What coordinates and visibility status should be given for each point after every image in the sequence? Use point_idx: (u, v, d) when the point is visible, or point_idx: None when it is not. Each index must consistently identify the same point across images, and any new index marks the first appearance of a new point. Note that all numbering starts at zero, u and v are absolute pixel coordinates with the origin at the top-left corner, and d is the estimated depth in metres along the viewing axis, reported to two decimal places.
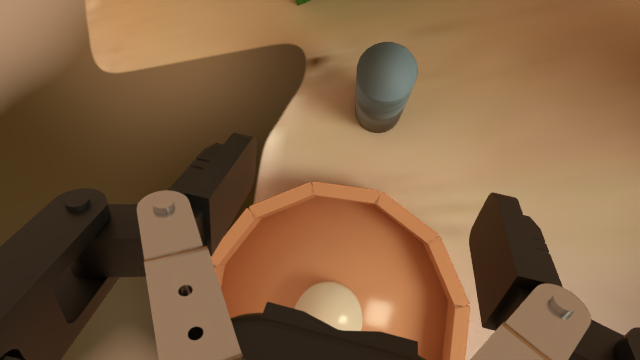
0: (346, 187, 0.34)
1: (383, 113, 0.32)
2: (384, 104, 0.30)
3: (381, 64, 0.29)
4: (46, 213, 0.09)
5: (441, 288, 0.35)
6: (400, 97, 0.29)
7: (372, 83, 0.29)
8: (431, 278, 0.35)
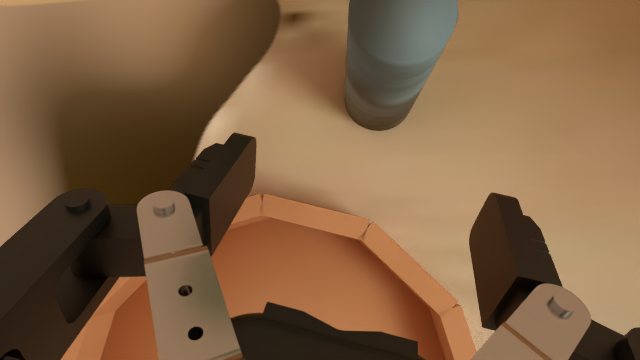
0: (316, 208, 0.21)
1: (388, 93, 0.19)
2: (392, 71, 0.17)
3: None
4: (46, 213, 0.09)
5: None
6: (422, 59, 0.16)
7: (374, 29, 0.16)
8: None
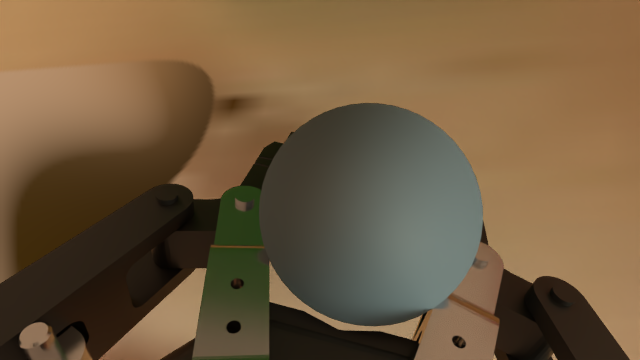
0: None
1: None
2: None
3: (353, 184, 0.08)
4: (140, 201, 0.09)
5: None
6: None
7: (311, 252, 0.08)
8: None
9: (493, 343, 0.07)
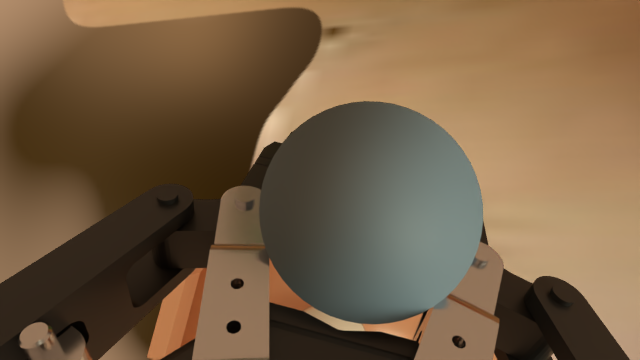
0: None
1: None
2: None
3: (353, 182, 0.08)
4: (140, 201, 0.09)
5: None
6: None
7: (311, 251, 0.08)
8: None
9: (493, 343, 0.07)
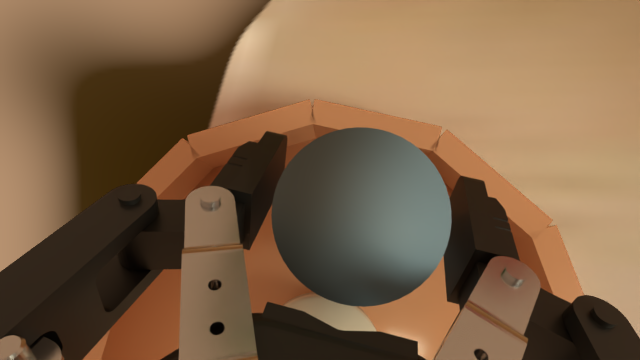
0: (377, 116, 0.18)
1: None
2: None
3: (347, 193, 0.10)
4: (100, 203, 0.09)
5: None
6: None
7: (313, 247, 0.10)
8: None
9: None
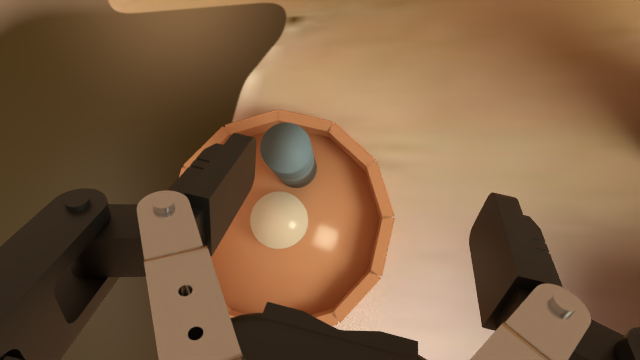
0: (305, 116, 0.42)
1: (287, 178, 0.37)
2: (283, 174, 0.35)
3: (281, 141, 0.34)
4: (46, 213, 0.09)
5: (375, 208, 0.43)
6: (294, 171, 0.34)
7: (272, 156, 0.34)
8: (368, 199, 0.43)
9: None
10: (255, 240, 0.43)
